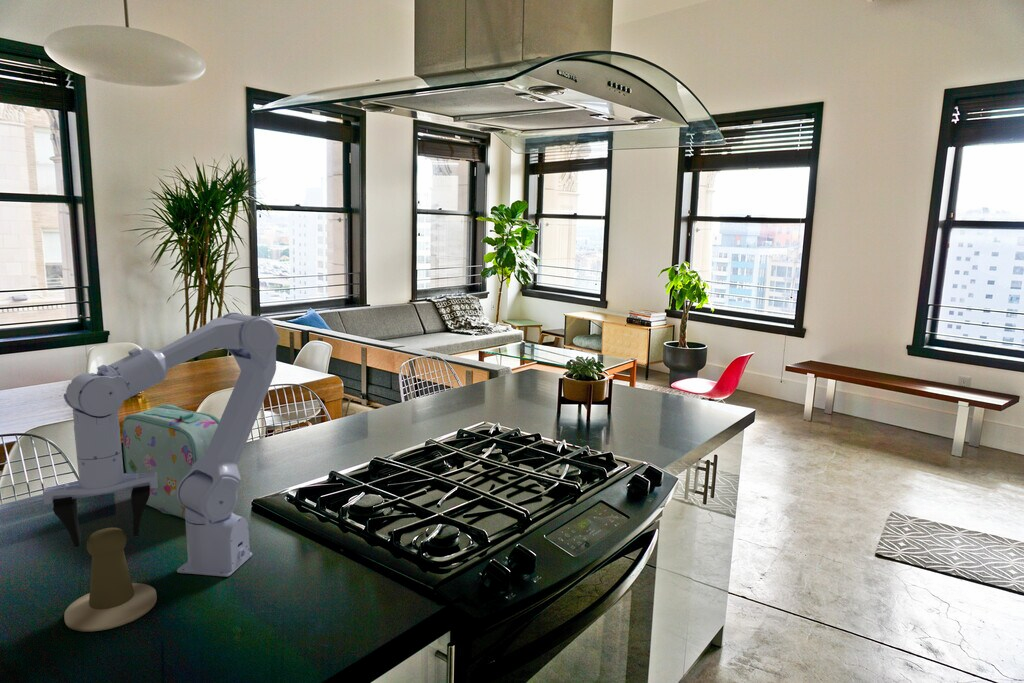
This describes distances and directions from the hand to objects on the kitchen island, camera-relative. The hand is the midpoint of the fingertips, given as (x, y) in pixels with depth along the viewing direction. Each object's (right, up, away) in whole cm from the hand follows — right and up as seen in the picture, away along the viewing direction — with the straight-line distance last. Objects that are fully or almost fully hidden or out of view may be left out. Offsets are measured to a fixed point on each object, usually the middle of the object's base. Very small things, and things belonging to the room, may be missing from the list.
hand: (107, 539), depth 101 cm
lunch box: (-7, -5, +38) cm, 39 cm away
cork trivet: (+1, -11, 0) cm, 11 cm away
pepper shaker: (0, -10, +1) cm, 10 cm away
